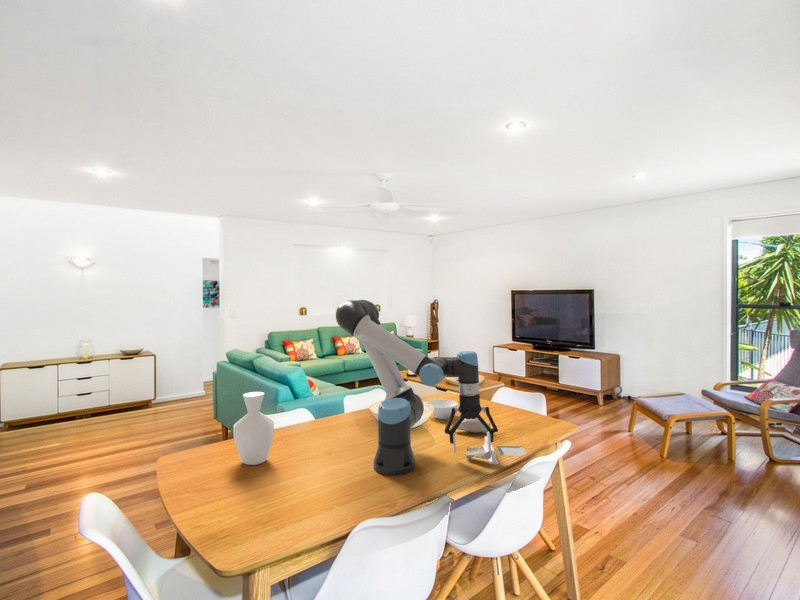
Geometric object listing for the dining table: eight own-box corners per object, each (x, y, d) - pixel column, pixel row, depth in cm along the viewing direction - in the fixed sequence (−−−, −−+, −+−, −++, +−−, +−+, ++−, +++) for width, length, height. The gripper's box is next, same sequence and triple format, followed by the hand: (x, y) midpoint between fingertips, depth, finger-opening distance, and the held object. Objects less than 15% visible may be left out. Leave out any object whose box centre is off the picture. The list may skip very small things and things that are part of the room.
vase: (281, 455, 153) (281, 390, 153) (258, 470, 139) (258, 400, 139) (249, 451, 157) (249, 388, 156) (224, 466, 143) (224, 397, 143)
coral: (489, 459, 140) (488, 446, 141) (462, 459, 145) (462, 446, 147) (495, 459, 144) (494, 446, 146) (469, 458, 150) (468, 446, 151)
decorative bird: (490, 434, 171) (491, 417, 173) (453, 428, 174) (455, 410, 176) (488, 435, 179) (490, 418, 181) (453, 429, 182) (455, 412, 184)
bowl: (441, 410, 212) (441, 397, 212) (464, 417, 200) (464, 403, 200) (419, 416, 202) (419, 402, 202) (442, 424, 190) (442, 409, 189)
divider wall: (490, 464, 143) (490, 453, 143) (482, 446, 161) (482, 436, 161) (498, 464, 143) (498, 453, 143) (489, 446, 161) (489, 436, 161)
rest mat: (502, 458, 149) (502, 457, 149) (496, 446, 161) (496, 445, 161) (534, 458, 148) (534, 458, 148) (526, 446, 160) (526, 446, 160)
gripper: (436, 397, 143) (439, 456, 143) (504, 394, 142) (507, 454, 142) (435, 392, 151) (438, 448, 151) (500, 389, 150) (503, 446, 150)
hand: (472, 451), depth 147 cm, fingers open, 12 cm apart
